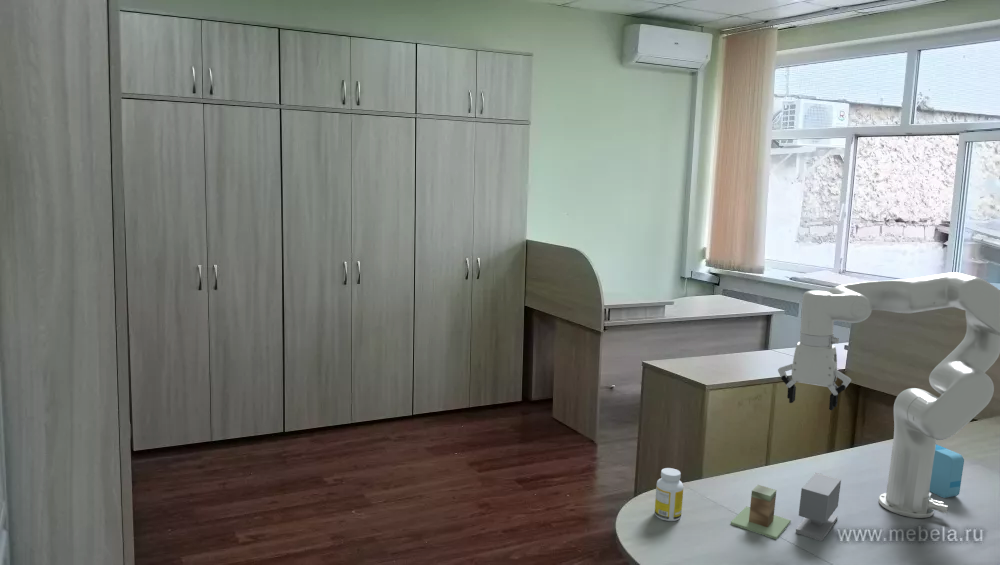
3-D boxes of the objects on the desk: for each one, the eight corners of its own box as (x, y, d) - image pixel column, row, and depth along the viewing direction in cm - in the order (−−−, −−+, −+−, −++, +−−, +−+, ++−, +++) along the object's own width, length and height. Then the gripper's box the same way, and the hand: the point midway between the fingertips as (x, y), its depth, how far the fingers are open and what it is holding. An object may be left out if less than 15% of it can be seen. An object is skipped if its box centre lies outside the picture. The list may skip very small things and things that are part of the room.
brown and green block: (773, 520, 180) (776, 490, 179) (767, 527, 177) (770, 496, 175) (754, 514, 183) (758, 484, 182) (748, 521, 179) (751, 490, 178)
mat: (790, 522, 181) (790, 520, 181) (776, 539, 172) (776, 537, 172) (746, 508, 187) (746, 506, 187) (730, 524, 179) (730, 521, 179)
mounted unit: (837, 519, 183) (842, 478, 181) (821, 541, 172) (827, 497, 170) (811, 512, 187) (816, 471, 185) (795, 532, 176) (800, 489, 174)
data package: (959, 498, 198) (965, 456, 197) (947, 500, 197) (953, 457, 195) (920, 479, 210) (926, 439, 208) (908, 481, 208) (914, 441, 206)
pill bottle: (682, 512, 184) (685, 468, 182) (679, 524, 178) (683, 479, 176) (656, 507, 186) (659, 464, 184) (652, 519, 180) (656, 474, 178)
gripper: (856, 341, 183) (851, 407, 185) (784, 332, 193) (780, 395, 195) (850, 347, 177) (845, 416, 179) (776, 338, 187) (772, 402, 189)
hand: (811, 405), depth 187 cm, fingers open, 9 cm apart
